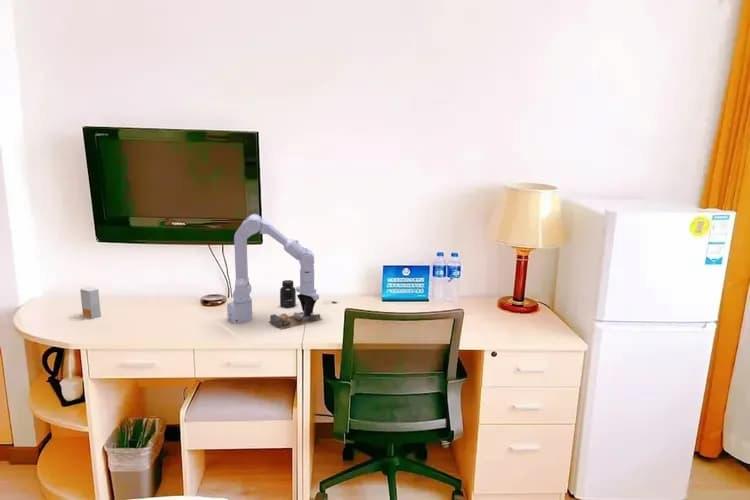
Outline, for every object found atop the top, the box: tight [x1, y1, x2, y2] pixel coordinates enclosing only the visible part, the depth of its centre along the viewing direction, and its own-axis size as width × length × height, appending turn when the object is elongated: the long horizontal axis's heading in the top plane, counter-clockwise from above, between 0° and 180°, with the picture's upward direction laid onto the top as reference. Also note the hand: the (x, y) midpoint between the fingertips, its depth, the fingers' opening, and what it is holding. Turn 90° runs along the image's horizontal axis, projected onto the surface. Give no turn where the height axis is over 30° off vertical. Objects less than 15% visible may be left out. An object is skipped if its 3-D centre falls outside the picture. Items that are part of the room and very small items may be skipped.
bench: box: [267, 311, 324, 331], centre depth 227 cm, size 20×11×4 cm, turn 128°
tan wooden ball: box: [278, 313, 290, 324], centre depth 224 cm, size 4×4×4 cm
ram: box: [293, 303, 315, 321], centre depth 229 cm, size 7×4×6 cm, turn 128°
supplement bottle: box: [279, 279, 297, 309], centre depth 244 cm, size 7×7×12 cm
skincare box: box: [79, 286, 102, 320], centre depth 229 cm, size 6×4×12 cm
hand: (307, 312), depth 230 cm, fingers closed on ram, 3 cm apart
